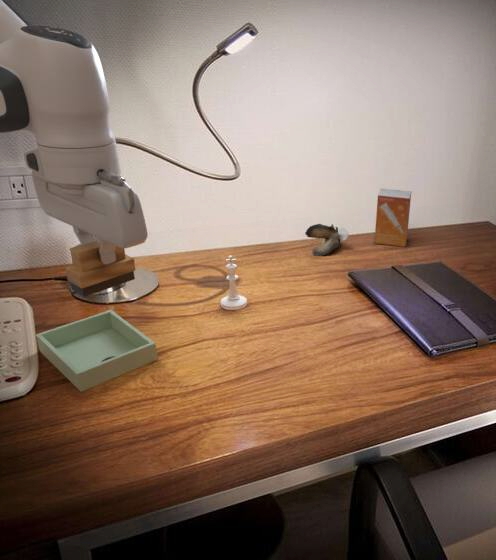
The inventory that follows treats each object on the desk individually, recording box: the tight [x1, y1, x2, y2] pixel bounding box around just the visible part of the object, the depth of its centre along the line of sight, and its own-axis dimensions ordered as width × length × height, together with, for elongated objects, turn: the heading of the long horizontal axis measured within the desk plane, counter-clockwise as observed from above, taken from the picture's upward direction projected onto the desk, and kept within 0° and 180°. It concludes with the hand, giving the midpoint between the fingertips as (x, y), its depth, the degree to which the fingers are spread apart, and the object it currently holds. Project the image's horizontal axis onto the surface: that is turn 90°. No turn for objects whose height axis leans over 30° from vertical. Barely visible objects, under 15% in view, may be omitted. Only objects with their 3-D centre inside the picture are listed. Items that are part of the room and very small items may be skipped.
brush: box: [64, 240, 136, 298], centre depth 76 cm, size 8×4×6 cm, turn 148°
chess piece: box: [220, 255, 248, 311], centre depth 98 cm, size 5×5×10 cm
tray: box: [35, 309, 159, 393], centre depth 81 cm, size 14×11×4 cm
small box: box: [374, 188, 412, 248], centre depth 133 cm, size 8×6×13 cm
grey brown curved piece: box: [304, 223, 349, 256], centre depth 127 cm, size 8×7×9 cm
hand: (99, 258), depth 75 cm, fingers closed on brush, 2 cm apart
